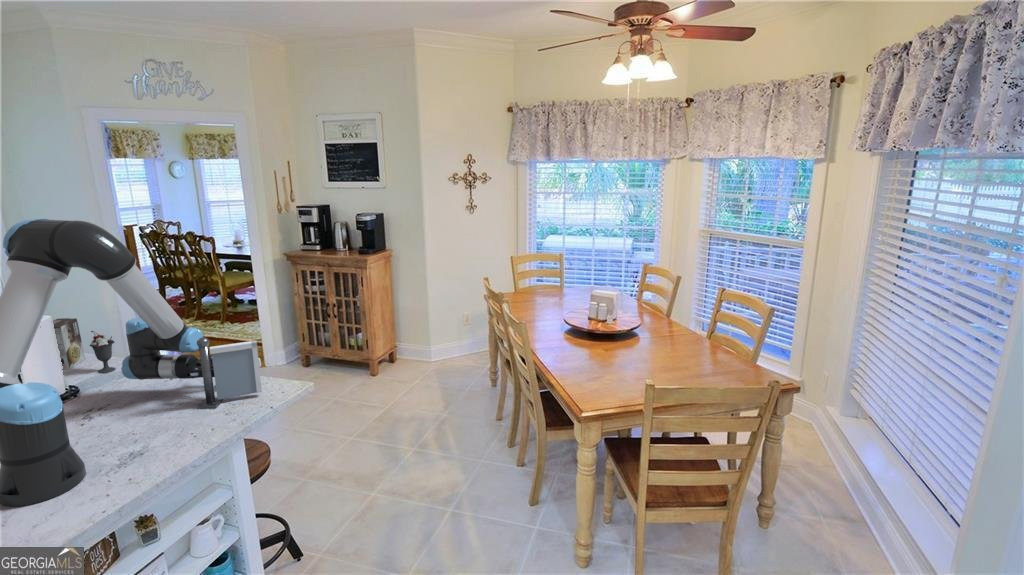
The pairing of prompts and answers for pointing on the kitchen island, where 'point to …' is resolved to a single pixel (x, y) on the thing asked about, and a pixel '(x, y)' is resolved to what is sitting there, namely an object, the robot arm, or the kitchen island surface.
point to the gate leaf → (236, 369)
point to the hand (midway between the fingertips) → (256, 365)
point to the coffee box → (69, 342)
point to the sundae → (103, 351)
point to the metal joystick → (207, 376)
